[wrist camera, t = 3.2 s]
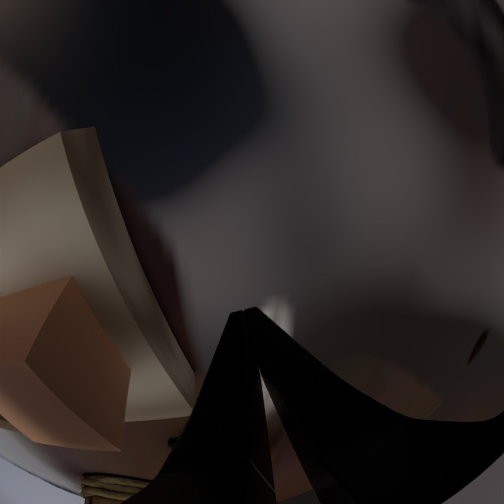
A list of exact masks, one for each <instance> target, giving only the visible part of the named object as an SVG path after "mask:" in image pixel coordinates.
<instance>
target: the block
mask: <svg viewBox="0 0 504 504" xmlns="http://www.w3.org/2000/svg"><path fill="white" fill-rule="evenodd" d="M130 375H131V369H130V368H129V366H128V365H127V364H126V362H125V361H124V360H123V358H122V357H121V355H120V354H119V353H118V351H117V350H116V348H115V347H114V345H113V344H112V342H111V341H110V339H109V338H108V336H107V335H106V333H105V332H104V330H103V329H102V327H101V325H100V324H99V322H98V321H97V319H96V317H95V316H94V314H93V312H92V311H91V309H90V307H89V306H88V304H87V302H86V300H85V299H84V297H83V295H82V293H81V291H80V289H79V288H78V286H77V284H76V282H75V280H74V278H73V276H69V277H66V278H62V279H59V280H55V281H52V282H49V283H45V284H42V285H39V286H36V287H32V288H29V289H26V290H23V291H19V292H16V293H13V294H10V295H7V296H4V297H0V414H1V415H2V416H3V417H4V418H5V419H6V420H7V421H9V422H10V423H11V424H12V425H13V426H14V427H16V428H17V429H18V430H19V431H21V432H22V433H23V434H24V435H26V436H27V437H28V438H29V439H31V440H32V441H33V442H38V443H43V444H49V445H55V446H62V447H69V448H78V449H88V450H101V451H122V443H123V432H124V421H125V412H126V404H127V396H128V389H129V382H130Z"/></svg>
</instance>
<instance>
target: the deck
mask: <svg viewBox="0 0 504 504" xmlns="http://www.w3.org/2000/svg"><path fill="white" fill-rule="evenodd" d="M69 276H73V278H74V280H75V282H76V284H77V286H78V288H79V289H80V291H81V293H82V295H83V297H84V299H85V300H86V302H87V304H88V306H89V307H90V309H91V311H92V312H93V314H94V316H95V317H96V319H97V321H98V322H99V324H100V325H101V327H102V329H103V330H104V332H105V333H106V335H107V336H108V338H109V339H110V341H111V342H112V344H113V345H114V347H115V348H116V350H117V351H118V353H119V354H120V355H121V357H122V358H123V360H124V361H125V362H126V364H127V365H128V366H129V368H130V369H131V375H130V382H129V389H128V396H127V404H126V412H125V421H124V422H127V421H145V420H157V419H167V418H176V417H184V416H190V414H191V412H192V410H193V407H194V405H195V402H196V397H195V378H194V372H193V370H192V368H191V367H190V365H189V363H188V361H187V359H186V358H185V356H184V354H183V352H182V350H181V348H180V346H179V345H178V343H177V341H176V339H175V337H174V335H173V333H172V331H171V329H170V327H169V325H168V323H167V321H166V319H165V317H164V315H163V313H162V311H161V309H160V307H159V305H158V302H157V300H156V298H155V296H154V294H153V292H152V289H151V287H150V285H149V283H148V280H147V278H146V276H145V273H144V271H143V269H142V266H141V264H140V262H139V259H138V257H137V254H136V252H135V249H134V247H133V244H132V242H131V239H130V237H129V234H128V231H127V229H126V226H125V223H124V220H123V218H122V215H121V212H120V209H119V206H118V203H117V200H116V197H115V194H114V191H113V188H112V185H111V182H110V179H109V176H108V172H107V169H106V166H105V162H104V159H103V155H102V151H101V148H100V144H99V140H98V136H97V133H96V128H95V127H89V128H82V129H75V130H68V131H62V132H59V133H57V134H55V135H53V136H51V137H49V138H48V139H46V140H44V141H42V142H40V143H39V144H37V145H35V146H33V147H32V148H30V149H28V150H27V151H25V152H23V153H22V154H20V155H19V156H17V157H16V158H14V159H12V160H11V161H9V162H8V163H6V164H5V165H3V166H2V167H1V168H0V297H4V296H7V295H10V294H13V293H16V292H19V291H23V290H26V289H29V288H32V287H36V286H39V285H42V284H45V283H49V282H52V281H55V280H59V279H62V278H66V277H69ZM0 428H3V429H7V430H12V431H16V432H20V433H22V432H21V431H19V430H18V429H17V428H16V427H14V426H13V425H12V424H11V423H10V422H9V421H7V420H6V419H5V418H4V417H3V416H2V415H1V414H0Z"/></svg>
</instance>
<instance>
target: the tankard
mask: <svg viewBox="0 0 504 504" xmlns="http://www.w3.org/2000/svg"><path fill="white" fill-rule="evenodd" d="M149 483H151V482H147V481H142V480H136V479H131V478H126V477H120V476H112V475H103V474H93V475H90V476H86V477H85V479H81V488H82V492H81V496H82V497H83V498H84V499H85V503H84V504H120V503H121V502H123V501H125V500H126V499H128V498H129V497H131V496H133V495H134V494H136V493H137V492H139V491H140V490H142V489H143V488H145V487H146V486H147V485H148V484H149Z"/></svg>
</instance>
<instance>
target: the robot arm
mask: <svg viewBox="0 0 504 504" xmlns="http://www.w3.org/2000/svg"><path fill="white" fill-rule="evenodd" d="M258 366H259V367H258ZM259 369H260V371H259ZM260 373H261V375H262V378H263V381H264V383H265V385H266V388H267V390H268V392H269V394H270V397H271V399H272V401H273V404H274V406H275V408H276V410H277V413H278V415H279V417H280V419H281V422H282V424H283V426H284V428H285V430H286V433H287V435H288V437H289V439H290V441H291V443H292V446H293V448H294V450H295V452H296V454H297V456H298V458H299V461H300V463H301V465H302V467H303V469H304V471H305V473H306V475H307V477H308V479H309V481H310V483H311V485H312V487H313V489H314V491H315V493H316V495H317V497H318V499H319V501H320V503H321V504H504V411H503V412H502V413H501V414H499V415H498V416H496V417H494V418H492V419H489V420H485V421H477V422H461V421H457V422H456V421H437V420H424V419H415V418H411V417H408V416H404V415H402V414H400V413H398V412H396V411H394V410H392V409H390V408H388V407H387V406H385V405H383V404H381V403H380V402H378V401H376V400H374V399H373V398H371V397H369V396H368V395H366V394H364V393H362V392H361V391H359V390H358V389H356V388H354V387H353V386H351V385H350V384H348V383H347V382H345V381H344V380H343V379H341V378H340V377H339V376H337V375H336V374H335V373H333V372H332V371H331V370H330V369H328V368H327V367H326V366H325V365H322V363H321V362H320V361H319V360H317V359H316V358H315V357H314V356H313V355H312V354H310V353H309V352H308V351H307V350H306V349H305V348H303V347H302V346H301V345H300V344H299V343H298V342H296V341H295V340H294V339H293V338H292V337H291V336H289V335H288V334H287V333H286V332H285V331H284V330H283V329H281V328H280V327H279V326H278V325H277V324H276V323H275V322H273V321H272V320H271V319H270V318H269V317H268V316H267V315H266V314H264V313H263V312H262V311H261V310H260V309H259V308H258V307H252V308H248V309H245V310H244V311H243V310H240V311H236V312H232V313H230V315H229V318H228V320H227V323H226V326H225V328H224V331H223V333H222V336H221V338H220V341H219V344H218V346H217V349H216V351H215V354H214V357H213V359H212V362H211V364H210V367H209V369H208V372H207V374H206V377H205V380H204V382H203V385H202V387H201V390H200V392H199V396H198V397H197V400H196V402H195V405H194V407H193V410H192V412H191V414H190V417H189V419H188V421H187V423H186V425H185V427H184V429H183V431H182V433H181V435H180V437H179V438H178V439H175V440H169V441H168V446H169V447H171V448H172V451H171V452H170V454H169V456H168V458H167V459H166V461H165V463H164V465H163V466H162V468H161V470H160V471H159V473H158V474H157V476H156V477H155V478H154V479H153V480H152V481H151V483H149V484H148V485H147V486H146V487H145V488H143V489H142V490H140V491H139V492H137V493H136V494H134V495H133V496H131V497H129V498H128V499H126V500H125V501H123V502H121V503H120V504H278V503H277V500H276V493H275V486H274V478H273V470H272V462H271V455H270V447H269V439H268V431H267V423H266V415H265V407H264V399H263V391H262V383H261V376H260Z"/></svg>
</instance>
